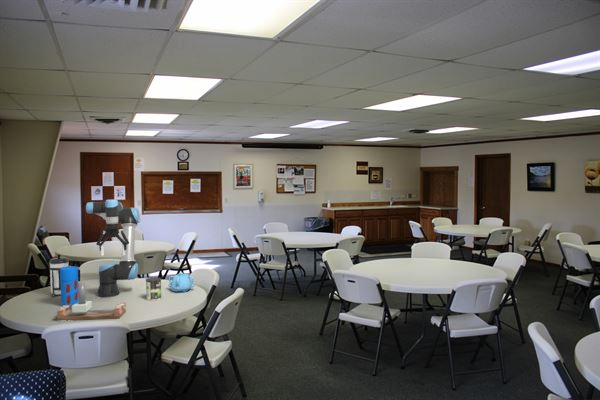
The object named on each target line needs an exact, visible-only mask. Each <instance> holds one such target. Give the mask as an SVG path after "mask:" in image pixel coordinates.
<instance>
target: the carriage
mask: <svg viewBox="0 0 600 400" xmlns="http://www.w3.org/2000/svg"><path fill="white" fill-rule="evenodd" d="M86 298H87V297H86V283H78V302H77V303H76V304H74V305H73V306H72V313H74V312H87V311H88V310H92V308H93V301H92V300H86Z"/></svg>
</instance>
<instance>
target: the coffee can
mask: <svg viewBox="0 0 600 400" xmlns="http://www.w3.org/2000/svg"><path fill="white" fill-rule="evenodd" d="M145 289H146V291H145V292H146V295H145V296H146V299H145V300H146V301H149V302H150V301H152V302H153V301H159V300H161V299H162V278H161V277H149V278H146V279H145Z"/></svg>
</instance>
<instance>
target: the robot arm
mask: <svg viewBox="0 0 600 400" xmlns="http://www.w3.org/2000/svg"><path fill="white" fill-rule="evenodd" d="M85 210H86V211H85V212H86V213H87V214H95V215H97V216H99V217H102V218H103V219H102V220H105V229H106V230H101V231H100V236H99V237H98V238H97V239H98V240H97V241H96V243H95V245H96V246H99V252H100V254H101V257H103V256H105V251H104V245H103V244H104V243H105V242H106V241H107V240H108V239H109V238H117V240H119V242H121V245H122V248H121V259H120V260H119V262H118V264H117V262H116V261H111V262H106V263H102V264H100V265H99V267H98V278H99V279H98V280H99V282H98V283H99V286H98V289H97V293H96V296H97V297H98V298H111V297H115V296H119V295H120V294H121V293H120V288H119V286H118V284H117V283H118V282H117V281H130V280H135V279H136V278H137V276H138V274H139V264H138V263H137V260H136V259H135V245H136V240H135V239H136V228H137V226H138V224H139V223H140V222H141V217H140V211H139V209H138V208H137V207H124V206H123V204H122V203H121V201H118V199H106V200H105V201H103V202H102V201H99V202H98V201H97V202H96V201H90V202H89V201H88V202H87V203H86V205H85ZM119 224H120V226H121V227H122V230H119V229H120V228H119V227H120V226H119ZM105 234H106V236H105V237H104V235H105ZM120 235H121V236H120ZM103 237H104V238H103ZM102 239H103V240H102Z"/></svg>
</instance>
